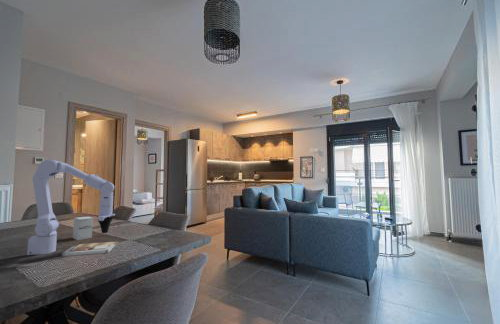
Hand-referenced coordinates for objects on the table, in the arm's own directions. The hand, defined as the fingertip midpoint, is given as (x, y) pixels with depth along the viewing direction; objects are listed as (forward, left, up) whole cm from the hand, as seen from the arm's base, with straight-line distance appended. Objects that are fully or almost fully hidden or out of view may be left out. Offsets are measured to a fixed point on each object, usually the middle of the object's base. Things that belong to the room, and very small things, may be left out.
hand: (104, 232), depth 115 cm
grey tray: (-4, -7, -8) cm, 11 cm away
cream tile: (0, -5, -8) cm, 9 cm away
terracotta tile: (-8, -5, -8) cm, 12 cm away
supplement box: (-17, +21, -8) cm, 28 cm away
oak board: (-4, +3, -8) cm, 9 cm away
